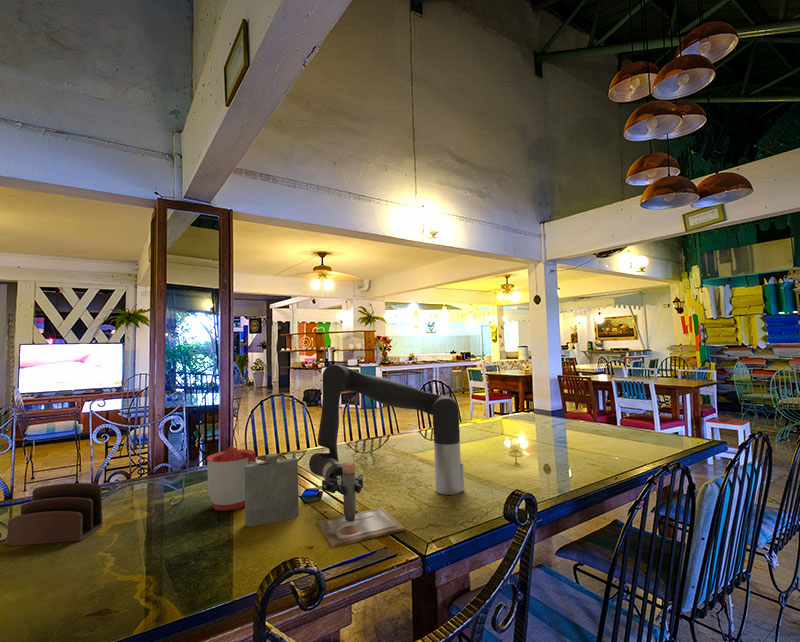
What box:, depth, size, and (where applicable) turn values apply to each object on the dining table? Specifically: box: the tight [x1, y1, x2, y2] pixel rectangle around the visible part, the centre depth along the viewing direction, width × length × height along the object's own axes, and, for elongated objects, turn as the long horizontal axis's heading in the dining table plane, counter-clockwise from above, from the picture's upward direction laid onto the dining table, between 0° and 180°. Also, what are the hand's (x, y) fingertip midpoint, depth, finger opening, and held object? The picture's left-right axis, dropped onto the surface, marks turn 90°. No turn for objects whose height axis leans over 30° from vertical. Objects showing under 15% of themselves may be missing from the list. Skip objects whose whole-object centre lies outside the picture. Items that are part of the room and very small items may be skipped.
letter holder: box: [6, 482, 103, 547], centre depth 123 cm, size 10×20×14 cm, turn 95°
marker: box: [341, 461, 357, 521], centre depth 124 cm, size 4×4×16 cm
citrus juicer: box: [206, 445, 257, 512], centre depth 143 cm, size 16×17×20 cm
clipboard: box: [316, 507, 406, 549], centre depth 121 cm, size 21×17×2 cm
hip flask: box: [244, 453, 300, 527], centre depth 129 cm, size 16×4×20 cm, turn 115°
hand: (352, 490), depth 122 cm, fingers closed on marker, 3 cm apart
